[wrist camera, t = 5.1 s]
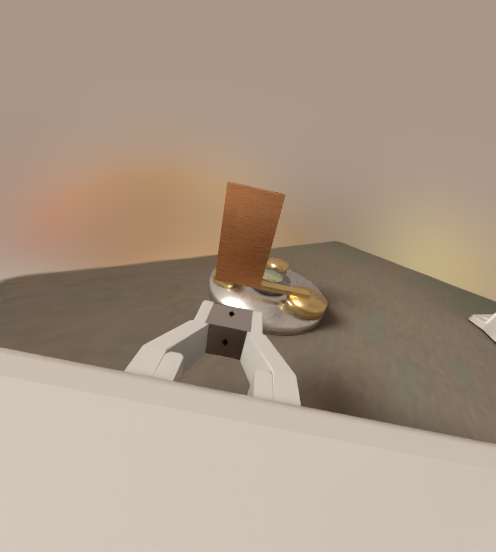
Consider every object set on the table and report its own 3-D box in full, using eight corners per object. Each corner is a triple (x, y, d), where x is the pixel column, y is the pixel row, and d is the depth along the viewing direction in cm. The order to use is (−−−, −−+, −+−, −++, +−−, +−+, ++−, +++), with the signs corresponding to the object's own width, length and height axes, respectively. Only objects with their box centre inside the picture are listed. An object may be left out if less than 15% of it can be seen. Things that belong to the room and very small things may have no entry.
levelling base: (279, 266, 39) (284, 252, 37) (347, 322, 26) (357, 304, 24) (197, 268, 31) (198, 251, 30) (234, 350, 18) (240, 326, 17)
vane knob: (317, 300, 26) (357, 209, 20) (327, 324, 22) (382, 217, 16) (218, 279, 26) (232, 181, 20) (209, 299, 21) (223, 182, 16)
